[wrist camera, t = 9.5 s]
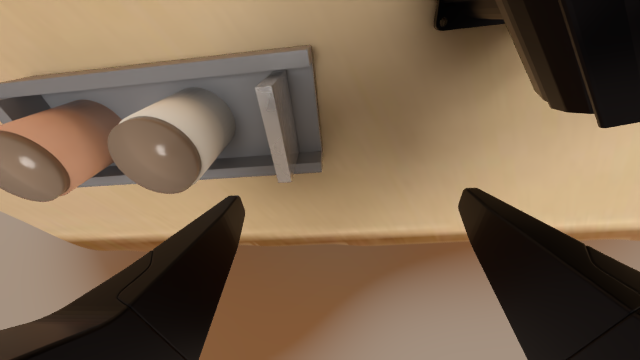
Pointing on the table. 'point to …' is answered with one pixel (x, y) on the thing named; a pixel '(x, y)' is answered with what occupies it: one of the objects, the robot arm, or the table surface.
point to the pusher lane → (172, 76)
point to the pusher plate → (279, 123)
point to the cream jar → (172, 140)
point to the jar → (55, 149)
